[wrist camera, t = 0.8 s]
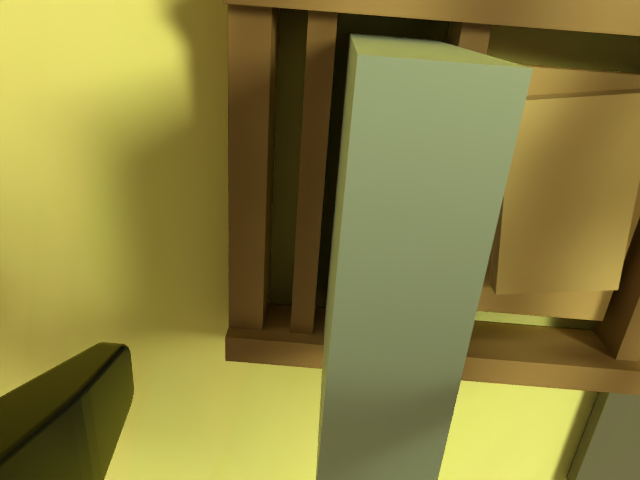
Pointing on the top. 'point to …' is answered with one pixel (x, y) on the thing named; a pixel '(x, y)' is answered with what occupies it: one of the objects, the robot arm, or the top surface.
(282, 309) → the rack
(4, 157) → the top surface
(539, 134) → the offcut stack
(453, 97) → the grey square block
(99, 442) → the robot arm
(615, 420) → the rubber mat
